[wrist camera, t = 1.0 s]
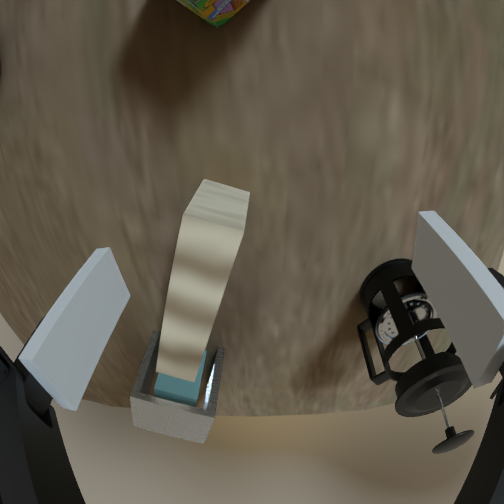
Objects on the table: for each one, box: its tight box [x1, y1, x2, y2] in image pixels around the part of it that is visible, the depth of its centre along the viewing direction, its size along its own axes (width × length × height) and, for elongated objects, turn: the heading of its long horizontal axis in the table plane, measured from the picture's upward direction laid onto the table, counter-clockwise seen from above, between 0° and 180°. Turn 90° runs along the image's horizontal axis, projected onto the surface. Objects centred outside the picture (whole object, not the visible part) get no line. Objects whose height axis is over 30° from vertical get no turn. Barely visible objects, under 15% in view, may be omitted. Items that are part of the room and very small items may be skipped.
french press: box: [357, 259, 474, 454], centre depth 28 cm, size 12×9×23 cm
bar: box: [156, 179, 250, 382], centre depth 34 cm, size 22×5×9 cm, turn 163°
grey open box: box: [130, 331, 225, 444], centre depth 42 cm, size 10×11×12 cm
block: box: [154, 350, 207, 407], centre depth 43 cm, size 6×6×9 cm
